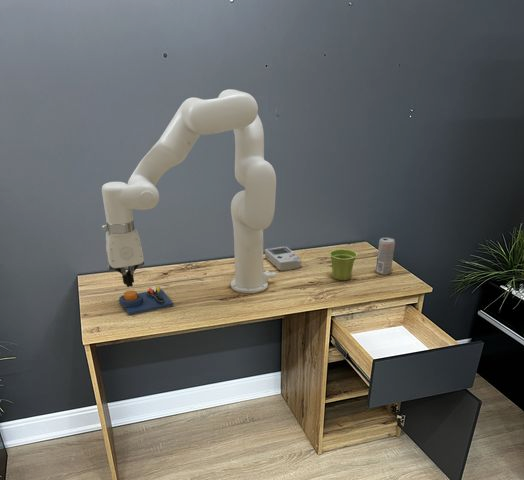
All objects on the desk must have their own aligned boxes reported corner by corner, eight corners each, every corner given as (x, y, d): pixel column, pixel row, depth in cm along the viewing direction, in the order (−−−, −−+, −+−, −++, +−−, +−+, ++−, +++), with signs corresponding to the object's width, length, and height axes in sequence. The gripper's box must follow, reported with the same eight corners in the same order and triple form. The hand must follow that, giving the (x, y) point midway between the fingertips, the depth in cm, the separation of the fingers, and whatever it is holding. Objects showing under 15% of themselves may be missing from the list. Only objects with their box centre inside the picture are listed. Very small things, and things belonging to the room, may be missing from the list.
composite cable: (166, 302, 161) (165, 295, 160) (151, 305, 159) (150, 298, 158) (159, 290, 169) (158, 283, 167) (145, 293, 167) (144, 286, 166)
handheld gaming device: (280, 272, 185) (280, 262, 183) (264, 258, 197) (264, 248, 195) (302, 268, 188) (302, 258, 186) (285, 255, 199) (286, 245, 197)
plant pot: (336, 284, 175) (338, 260, 171) (323, 274, 183) (324, 251, 178) (360, 279, 179) (362, 256, 174) (345, 270, 186) (347, 247, 181)
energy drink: (386, 268, 187) (390, 236, 181) (393, 273, 183) (398, 241, 177) (372, 270, 186) (376, 238, 180) (380, 275, 182) (384, 243, 175)
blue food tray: (161, 292, 171) (160, 283, 169) (173, 306, 162) (172, 297, 160) (116, 300, 165) (115, 292, 163) (126, 316, 156) (124, 307, 154)
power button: (135, 295, 163) (134, 289, 162) (139, 299, 160) (138, 294, 159) (123, 297, 161) (122, 291, 160) (126, 302, 158) (125, 296, 157)
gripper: (97, 234, 143) (107, 294, 152) (149, 227, 149) (156, 285, 158) (91, 226, 149) (101, 285, 158) (142, 220, 154) (149, 276, 164)
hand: (129, 285), depth 158 cm, fingers closed
